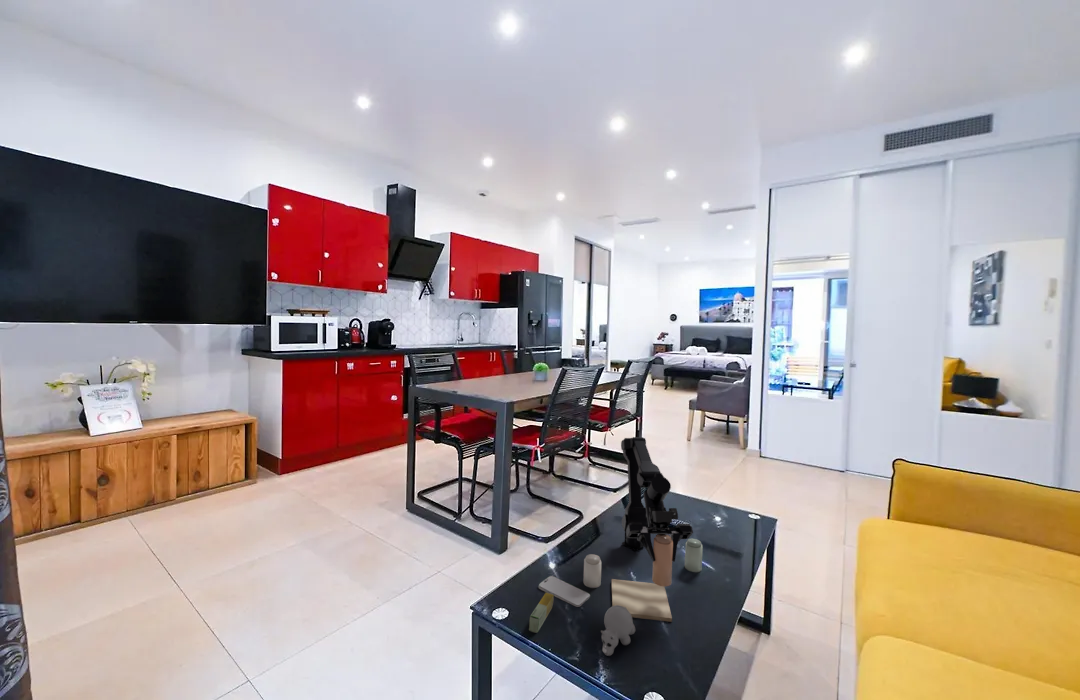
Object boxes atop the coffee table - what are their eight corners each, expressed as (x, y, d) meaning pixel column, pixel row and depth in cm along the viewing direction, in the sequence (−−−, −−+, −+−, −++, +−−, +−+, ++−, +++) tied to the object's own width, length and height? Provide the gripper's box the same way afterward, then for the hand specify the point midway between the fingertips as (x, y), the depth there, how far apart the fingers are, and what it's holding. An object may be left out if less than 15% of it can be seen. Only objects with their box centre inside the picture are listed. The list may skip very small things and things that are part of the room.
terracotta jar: (648, 578, 128) (649, 535, 127) (661, 573, 130) (663, 531, 130) (662, 588, 123) (663, 543, 122) (675, 583, 126) (677, 539, 125)
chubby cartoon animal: (593, 657, 109) (586, 633, 106) (615, 617, 118) (610, 594, 115) (619, 671, 105) (612, 647, 102) (640, 629, 113) (635, 605, 110)
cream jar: (579, 582, 137) (580, 557, 137) (591, 575, 141) (592, 551, 140) (592, 590, 133) (593, 564, 132) (604, 583, 137) (605, 558, 136)
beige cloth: (611, 582, 137) (611, 579, 137) (663, 587, 135) (663, 584, 135) (612, 614, 121) (612, 611, 121) (671, 621, 119) (672, 618, 119)
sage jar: (681, 567, 147) (682, 541, 147) (689, 561, 151) (690, 536, 150) (696, 574, 143) (697, 547, 143) (704, 568, 147) (705, 542, 146)
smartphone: (578, 606, 124) (536, 585, 133) (578, 610, 124) (536, 588, 133) (591, 594, 130) (550, 574, 139) (591, 598, 130) (550, 578, 139)
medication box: (537, 634, 113) (538, 619, 113) (528, 631, 114) (528, 616, 114) (553, 607, 125) (554, 593, 124) (544, 604, 126) (545, 591, 125)
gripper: (629, 496, 129) (636, 551, 119) (692, 497, 129) (705, 553, 119) (623, 511, 138) (629, 564, 127) (682, 512, 138) (693, 565, 127)
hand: (663, 561), depth 125 cm, fingers closed on terracotta jar, 5 cm apart
